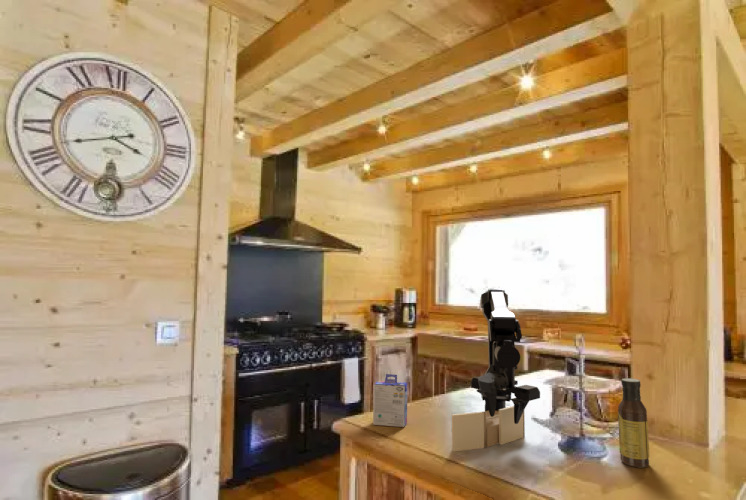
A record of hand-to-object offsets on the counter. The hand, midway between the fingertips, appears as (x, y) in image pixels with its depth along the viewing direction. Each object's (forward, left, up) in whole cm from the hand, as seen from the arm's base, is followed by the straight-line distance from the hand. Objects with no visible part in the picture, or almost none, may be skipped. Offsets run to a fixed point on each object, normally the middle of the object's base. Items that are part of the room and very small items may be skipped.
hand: (504, 420), depth 123 cm
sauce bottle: (-14, +27, -6) cm, 31 cm away
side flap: (-4, 0, -6) cm, 7 cm away
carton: (-1, -6, -6) cm, 8 cm away
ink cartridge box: (+14, -31, -6) cm, 34 cm away
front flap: (+11, -3, -6) cm, 13 cm away
